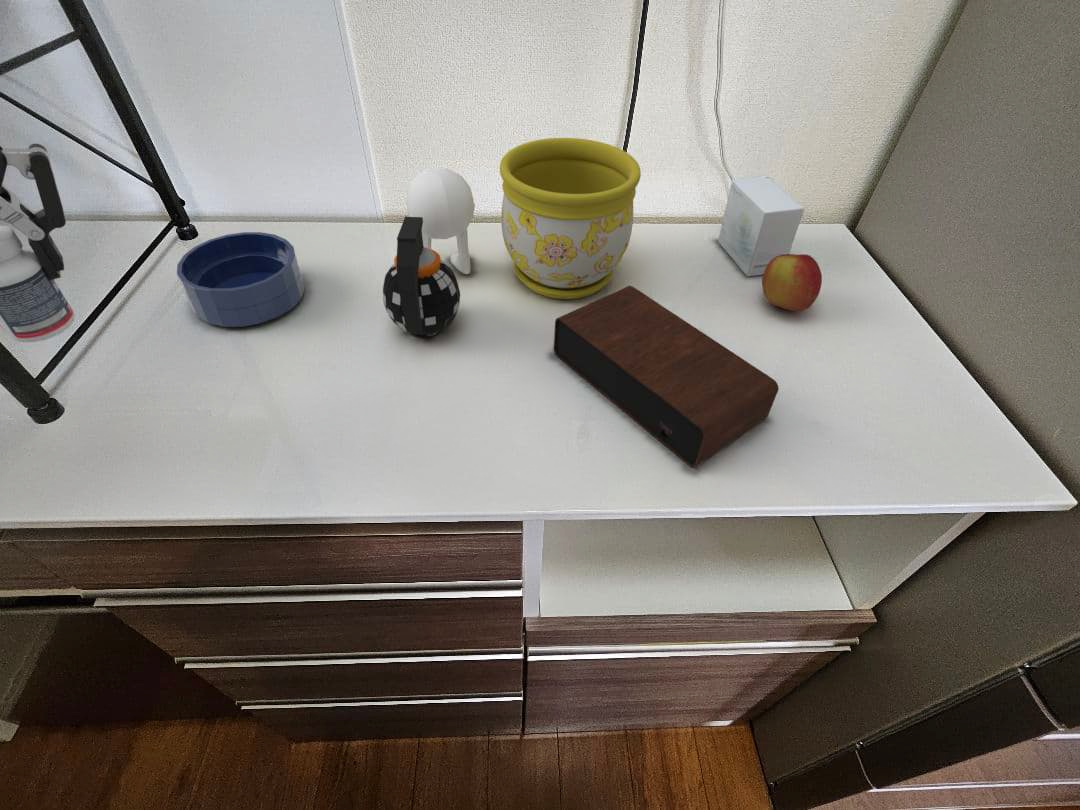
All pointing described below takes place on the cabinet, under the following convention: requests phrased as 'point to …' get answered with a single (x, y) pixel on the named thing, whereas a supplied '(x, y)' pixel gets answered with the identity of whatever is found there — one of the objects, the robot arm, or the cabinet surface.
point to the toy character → (443, 210)
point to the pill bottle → (29, 294)
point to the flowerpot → (567, 213)
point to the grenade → (419, 285)
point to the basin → (241, 278)
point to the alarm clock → (664, 373)
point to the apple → (792, 281)
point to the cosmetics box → (758, 223)
